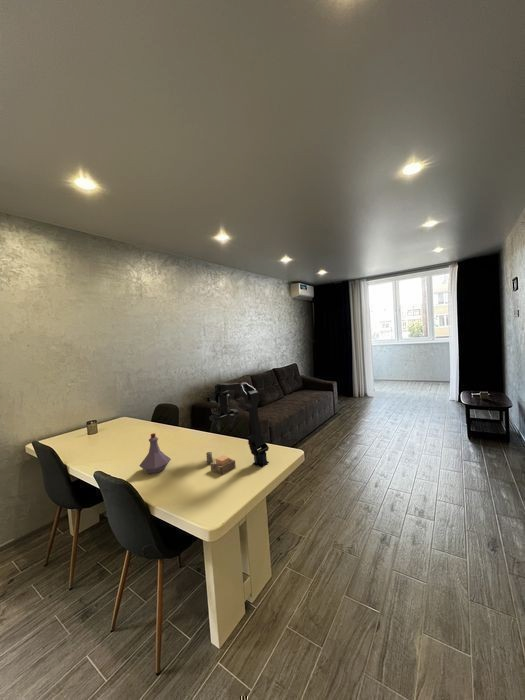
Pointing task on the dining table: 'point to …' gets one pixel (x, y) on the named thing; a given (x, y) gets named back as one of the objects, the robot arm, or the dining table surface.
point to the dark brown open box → (223, 467)
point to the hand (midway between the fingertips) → (225, 428)
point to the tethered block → (217, 459)
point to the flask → (154, 458)
